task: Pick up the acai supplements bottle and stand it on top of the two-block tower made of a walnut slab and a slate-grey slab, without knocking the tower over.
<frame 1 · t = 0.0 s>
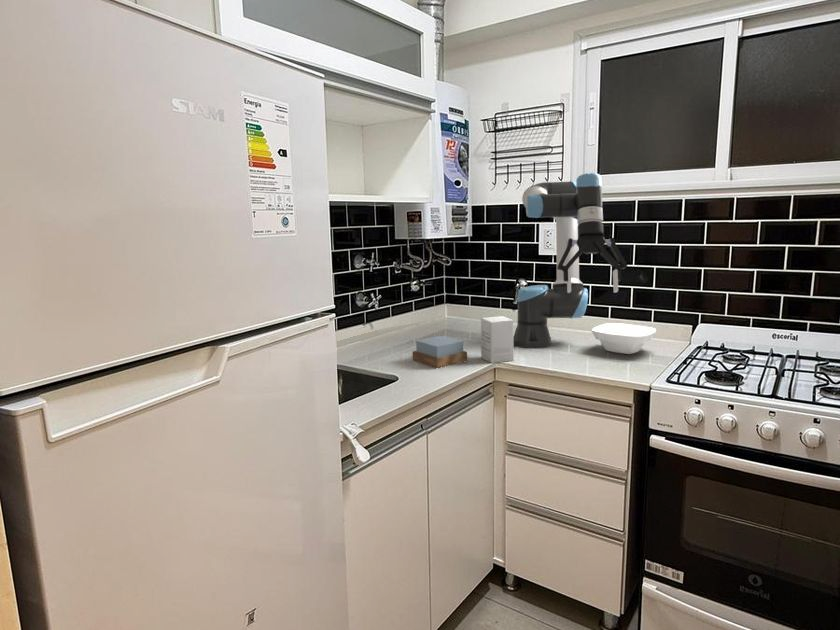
hand: (592, 292, 160), 28 cm above the counter, tool tilted 20°, fingers open, 13 cm apart
tower base: (439, 362, 193), on the counter, touching tower top
bowl: (622, 352, 199), on the counter
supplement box: (497, 359, 193), on the counter
tower top: (439, 351, 192), point 3 cm above the counter, touching tower base
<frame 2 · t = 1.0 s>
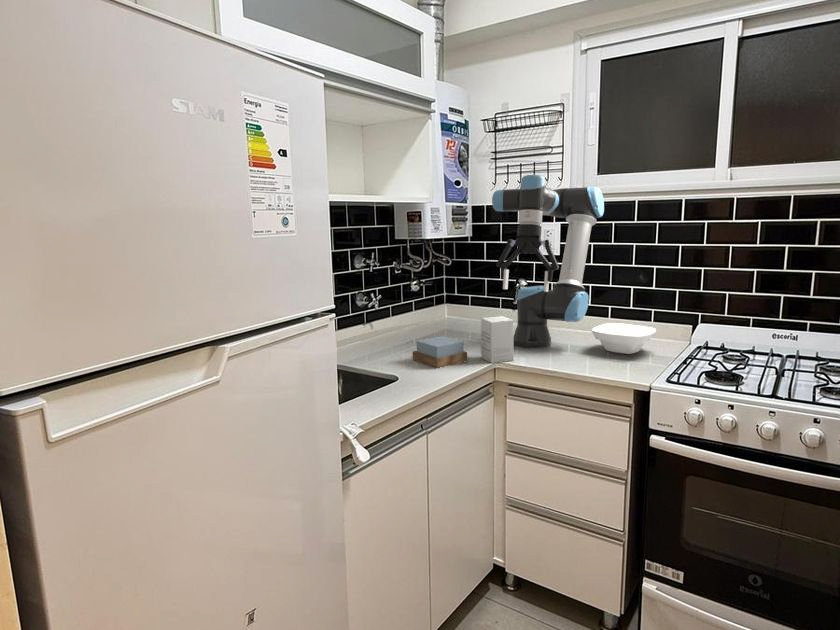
hand: (525, 290, 173), 27 cm above the counter, tool pointing down, fingers open, 13 cm apart
tower base: (439, 362, 193), on the counter
tower top: (440, 352, 192), point 3 cm above the counter
everything else where it was.
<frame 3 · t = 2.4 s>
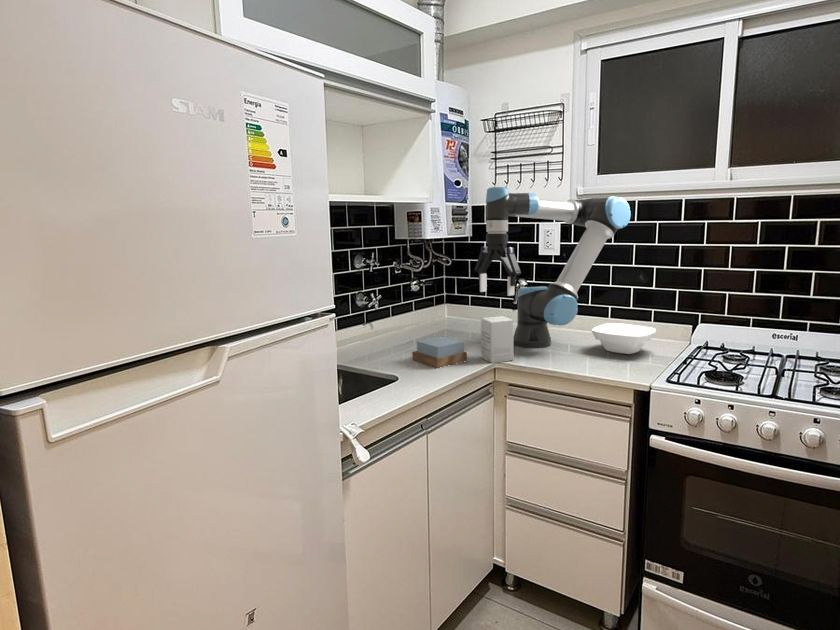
hand: (496, 293, 189), 24 cm above the counter, tool pointing down, fingers open, 13 cm apart
tower base: (439, 362, 193), on the counter, touching tower top
tower top: (440, 352, 192), point 3 cm above the counter, touching tower base
everything else where it was.
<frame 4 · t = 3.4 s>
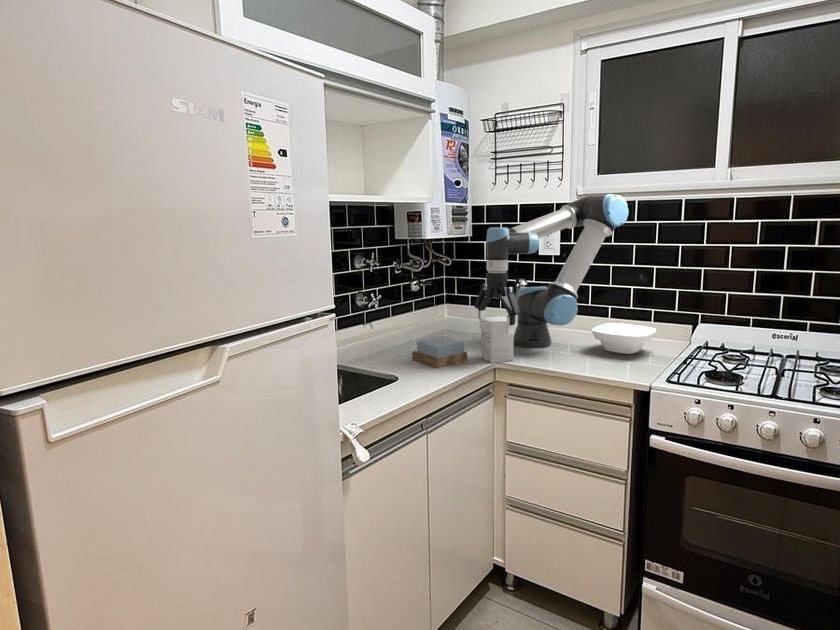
hand: (496, 331, 191), 10 cm above the counter, tool pointing down, fingers open, 13 cm apart
tower base: (439, 362, 193), on the counter
tower top: (440, 352, 192), point 3 cm above the counter
everything else where it was.
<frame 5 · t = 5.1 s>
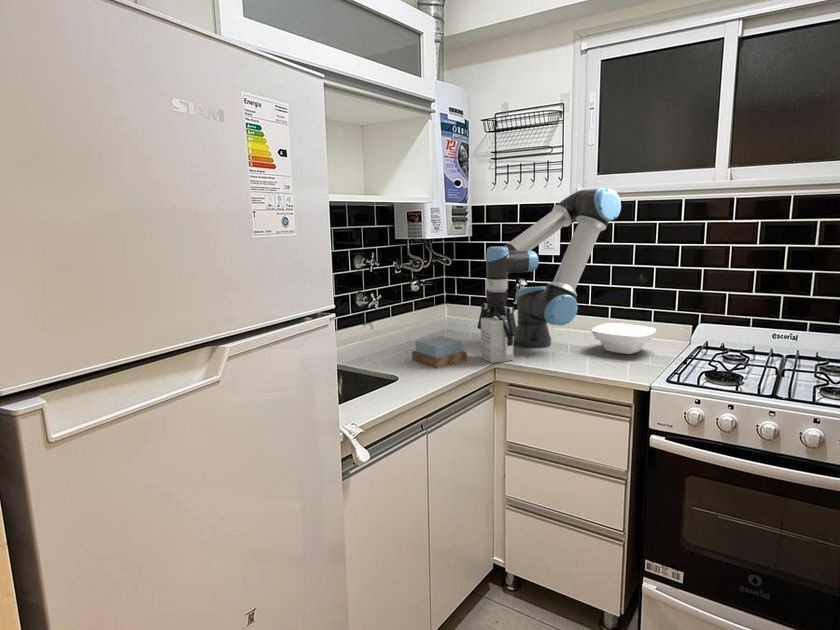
hand: (496, 351, 193), 3 cm above the counter, tool pointing down, fingers closed on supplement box, 10 cm apart
tower base: (439, 362, 193), on the counter, touching tower top
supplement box: (496, 359, 193), on the counter, touching gripper
tower top: (438, 352, 192), point 3 cm above the counter, touching tower base
everything else where it was.
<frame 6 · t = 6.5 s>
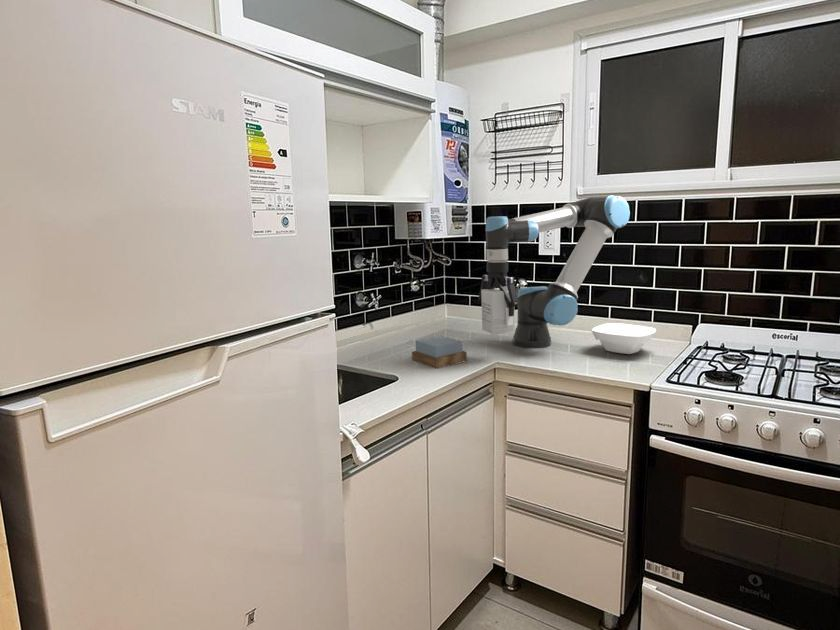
hand: (498, 322, 191), 13 cm above the counter, tool pointing down, fingers closed on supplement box, 10 cm apart
tower base: (439, 362, 193), on the counter
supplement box: (498, 331, 192), point 10 cm above the counter, touching gripper
tower top: (439, 351, 192), point 3 cm above the counter
everything else where it was.
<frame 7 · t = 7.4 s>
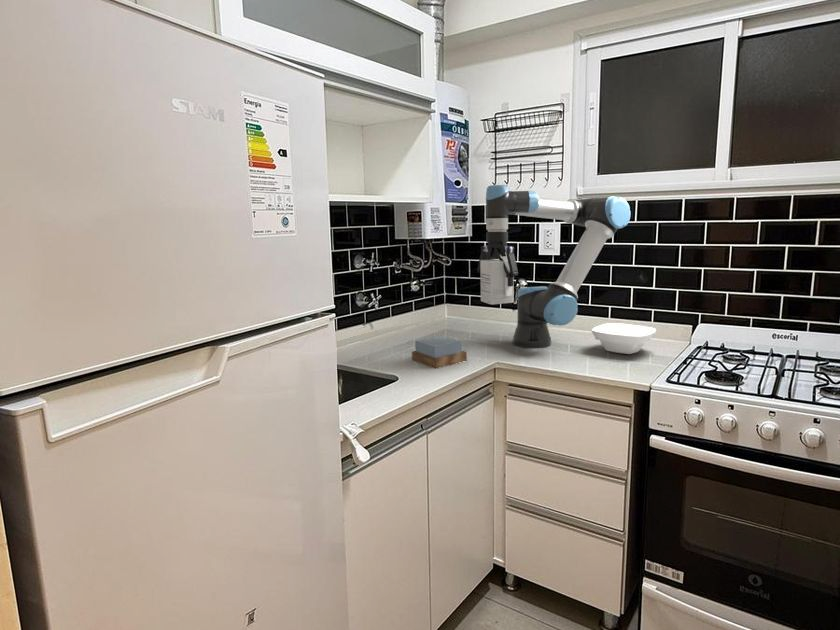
hand: (496, 294, 189), 24 cm above the counter, tool pointing down, fingers closed on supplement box, 10 cm apart
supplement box: (496, 302, 189), point 21 cm above the counter, touching gripper
everything else where it was.
when the fingers open (12 cm above the counter, at t = 11.5 s): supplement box drops 2 cm, resting on tower top.
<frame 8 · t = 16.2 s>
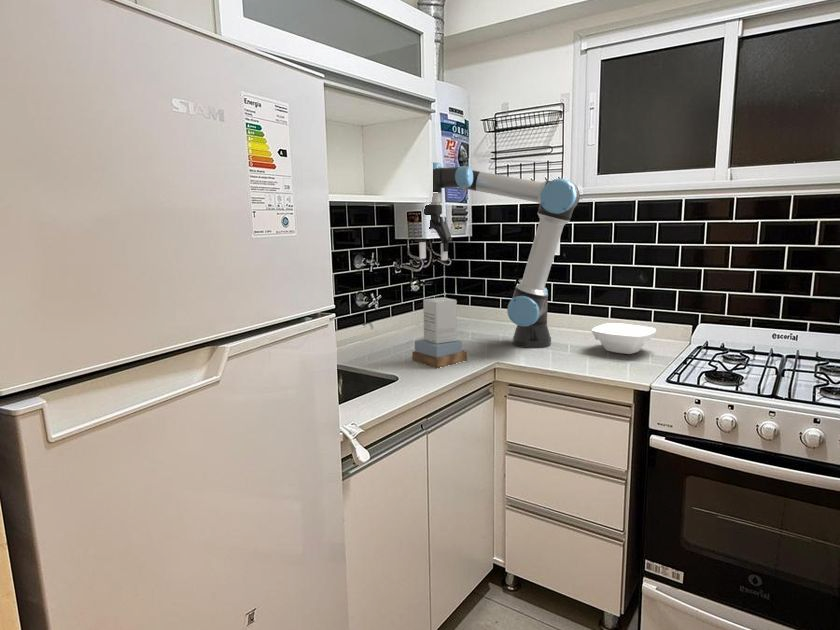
hand: (433, 259, 210), 35 cm above the counter, tool pointing down, fingers open, 13 cm apart
tower base: (439, 362, 193), on the counter, touching tower top
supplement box: (440, 340, 192), point 7 cm above the counter, touching tower top
tower top: (438, 351, 192), point 3 cm above the counter, touching tower base, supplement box
everything else where it was.
at the end: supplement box 0.8 cm off-centre on the tower top, point 4.0 cm above the tower top's base; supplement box tilted 1°; tower top 0.5 cm off-centre on the tower base, point 4.0 cm above the tower base's base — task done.
